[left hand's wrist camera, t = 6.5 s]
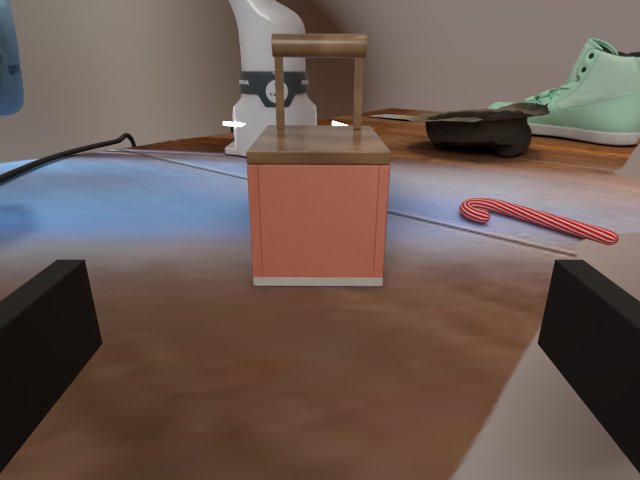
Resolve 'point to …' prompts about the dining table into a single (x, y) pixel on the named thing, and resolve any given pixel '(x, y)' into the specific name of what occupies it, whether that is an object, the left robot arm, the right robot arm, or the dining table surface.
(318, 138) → the lid
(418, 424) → the dining table surface
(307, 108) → the right robot arm
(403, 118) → the baking ingredient package
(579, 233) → the candy cane
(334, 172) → the chest
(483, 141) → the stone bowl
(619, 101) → the sneaker
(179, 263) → the dining table surface
